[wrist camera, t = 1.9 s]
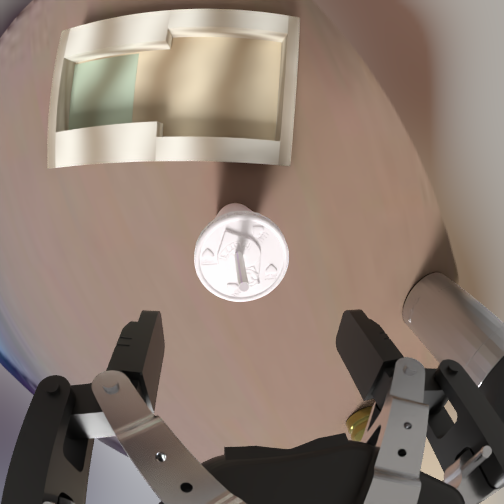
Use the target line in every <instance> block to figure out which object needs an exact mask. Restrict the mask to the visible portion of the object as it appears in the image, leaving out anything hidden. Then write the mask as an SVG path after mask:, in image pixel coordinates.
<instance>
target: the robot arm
mask: <svg viewBox="0 0 504 504" xmlns="http://www.w3.org/2000/svg"><path fill="white" fill-rule="evenodd" d="M403 319H404V321H405V323H406V324H407V325H408V327H409V328H410V329H411V330H412V331H413V332H414V333H415V335H416V336H417V337H418V338H419V339H420V341H421V342H422V343H423V344H424V345H425V346H426V348H427V349H428V350H429V351H430V352H431V354H432V355H433V356H434V357H435V358H436V360H437V361H438V362H439V363H440V365H439V366H438V368H437V369H427V368H424V366H423V365H422V364H421V363H420V362H419V361H417V360H415V359H413V358H408V357H403V355H402V354H401V353H400V351H399V350H398V349H397V347H396V346H395V345H394V343H393V342H392V341H391V339H389V337H388V336H387V334H385V332H384V330H383V329H382V328H381V327H380V325H379V324H377V323H376V322H374V321H373V320H371V319H368V317H367V316H366V315H365V313H364V312H363V311H362V310H346V311H345V312H344V313H343V316H342V319H341V323H340V326H339V330H338V333H337V337H336V347H337V350H338V352H339V354H340V356H341V358H342V360H343V362H344V363H345V365H346V367H347V369H348V371H349V373H350V375H351V377H352V379H353V381H354V383H355V384H356V386H357V388H358V390H359V392H360V394H361V396H362V398H363V400H364V401H365V400H369V399H374V400H375V403H374V405H373V407H372V410H371V414H370V417H369V420H368V423H367V426H366V429H365V432H364V435H363V437H362V439H361V441H360V442H359V441H352V440H348V439H347V437H346V434H345V433H342V434H338V435H333V436H328V437H323V438H318V439H315V440H313V441H310V442H308V443H305V444H303V445H300V446H298V447H295V448H292V449H279V448H269V447H261V446H246V447H224V455H221V456H217V457H214V458H212V459H209V460H207V461H205V462H203V463H202V464H200V462H199V461H198V460H197V459H196V458H195V457H194V456H193V455H192V454H191V453H190V452H189V451H188V449H187V448H186V447H185V446H184V445H183V444H182V443H181V441H180V440H179V439H178V438H177V437H176V436H175V434H174V433H173V432H172V431H171V430H170V428H169V427H168V426H167V425H166V423H165V422H164V421H163V420H162V419H161V418H160V417H159V416H155V415H154V414H153V413H154V410H155V403H156V397H157V391H158V385H159V379H160V373H161V367H162V362H163V357H164V348H165V344H164V335H163V327H162V319H161V313H160V311H144V310H143V311H142V312H141V315H140V318H139V320H138V322H132V321H131V322H129V323H128V324H127V325H126V326H125V327H124V328H123V329H122V332H121V334H120V337H119V339H118V342H117V346H116V347H115V349H114V352H113V354H112V357H111V360H110V362H109V365H108V368H107V370H106V371H105V372H102V373H100V374H98V375H97V376H96V377H95V378H94V380H93V382H92V383H90V384H82V385H70V383H69V382H68V380H67V379H66V378H64V377H62V376H58V375H53V376H49V377H46V378H45V379H43V380H42V381H41V382H40V383H39V385H38V387H37V389H36V391H35V394H34V396H33V399H32V401H31V403H30V406H29V409H28V411H27V414H26V416H25V419H24V422H23V425H22V427H21V430H20V433H19V436H18V439H17V442H16V445H15V448H14V451H13V455H12V458H11V462H10V466H9V469H8V474H7V477H6V482H5V486H4V491H3V496H2V502H1V504H85V502H86V492H87V484H88V476H89V469H90V462H91V455H92V450H93V444H94V438H101V437H110V436H116V437H117V438H118V440H119V442H120V443H121V445H122V447H123V448H124V450H125V451H126V453H127V454H128V456H129V458H130V459H131V461H132V462H133V463H134V465H135V466H136V468H137V469H138V471H139V472H140V474H141V475H142V476H143V478H144V479H145V480H146V482H147V483H148V484H149V486H150V487H151V488H152V490H153V491H154V492H155V493H156V495H157V496H158V497H159V498H160V500H161V502H160V503H159V504H479V503H480V502H482V501H484V500H485V499H487V498H488V497H489V496H491V495H493V494H494V493H495V492H497V491H498V490H500V489H501V488H502V487H504V323H503V322H502V321H501V320H500V319H499V318H498V317H496V316H495V315H494V314H493V313H492V312H491V311H489V310H488V309H487V308H486V307H485V306H483V305H482V304H481V303H480V302H479V301H477V300H476V299H475V298H473V297H472V296H471V295H470V294H468V293H467V292H466V291H465V290H463V289H462V288H461V287H460V286H458V285H457V284H456V283H454V282H453V281H452V280H450V279H449V278H448V277H446V276H445V275H444V274H442V273H432V274H429V275H427V276H425V277H424V278H423V279H421V280H420V281H419V282H418V283H417V284H416V285H415V286H414V288H413V289H412V290H411V292H410V293H409V295H408V297H407V299H406V301H405V304H404V308H403ZM448 400H449V401H450V402H451V404H452V406H453V407H454V409H455V410H456V412H457V416H458V417H457V422H456V423H455V424H454V422H453V421H452V419H451V417H450V416H449V414H448V413H447V411H446V409H445V408H444V405H445V404H446V403H447V401H448ZM426 437H427V438H428V440H429V442H430V444H431V446H432V448H433V450H434V452H435V455H436V457H437V459H438V461H439V463H440V465H441V467H442V469H443V471H444V480H443V481H440V480H438V479H436V478H434V477H432V476H430V475H428V474H425V473H423V472H421V471H420V469H421V463H422V458H423V453H424V447H425V440H426Z"/></svg>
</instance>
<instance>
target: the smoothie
mask: <svg viewBox="0 0 504 504" xmlns="http://www.w3.org/2000/svg"><path fill="white" fill-rule="evenodd" d="M194 255H195V256H194V262H195V269H196V272H197V275H198V277H199V279H200V281H201V282H202V284H203V285H204V286H205V287H206V288H207V289H208V290H209V291H210V292H211V293H213V294H214V295H216V296H218V297H220V298H223V299H226V300H229V301H236V302H245V301H251V300H255V299H258V298H261V297H263V296H265V295H266V294H268V293H270V292H271V291H272V290H273V289H274V288H276V287H277V285H278V284H279V283H280V282H281V280H282V279H283V277H284V275H285V273H286V271H287V267H288V263H289V251H288V246H287V243H286V240H285V238H284V235H283V234H282V232H281V231H280V229H279V227H278V226H277V225H276V224H275V223H273V222H272V221H271V220H270V219H269V218H267V217H265V216H263V215H261V214H259V213H256V212H253V211H251V210H250V209H249V208H247V207H246V206H245V205H242V204H239V203H231V204H228V205H226V206H224V207H223V208H222V209H221V210H220V211H219V213H218V214H217V216H216V217H215V219H214V220H213V221H211V222H210V223H209V224H208V225H207V226H206V227H205V228H204V229H203V231H202V232H201V234H200V236H199V238H198V240H197V242H196V247H195V253H194Z"/></svg>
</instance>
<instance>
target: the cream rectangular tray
mask: <svg viewBox="0 0 504 504" xmlns="http://www.w3.org/2000/svg"><path fill="white" fill-rule="evenodd" d="M299 30H300V18H299V17H293V16H287V15H281V14H274V13H266V12H258V11H247V10H232V9H180V10H166V11H155V12H146V13H139V14H132V15H126V16H120V17H115V18H110V19H105V20H101V21H96V22H92V23H88V24H85V25H81V26H77V27H74V28H70V29H67V30H64V31H62V33H61V38H60V42H59V46H58V51H57V56H56V61H55V67H54V73H53V80H52V87H51V95H50V105H49V118H48V140H47V166H48V169H50V168H58V167H67V166H77V165H88V164H101V163H117V162H140V161H216V162H240V163H257V164H271V165H283V166H290V162H291V150H292V138H293V126H294V113H295V99H296V84H297V68H298V50H299Z"/></svg>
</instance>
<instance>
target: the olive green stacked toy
mask: <svg viewBox="0 0 504 504" xmlns="http://www.w3.org/2000/svg"><path fill="white" fill-rule="evenodd" d="M372 407H373V406H370V407H366V408H364V409H361V410H359V411H357V412H356V413H354V414H353V415H352V416H351V417H350V418H349V419H348V420H347V422H346V426H347V429H348V432H349V433H350V434H351V439H352V441H359V442H360V441H361V439H362V437H363V435H364V432H365V429H366V426H367V423H368V420H369V417H370V414H371V410H372Z"/></svg>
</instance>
